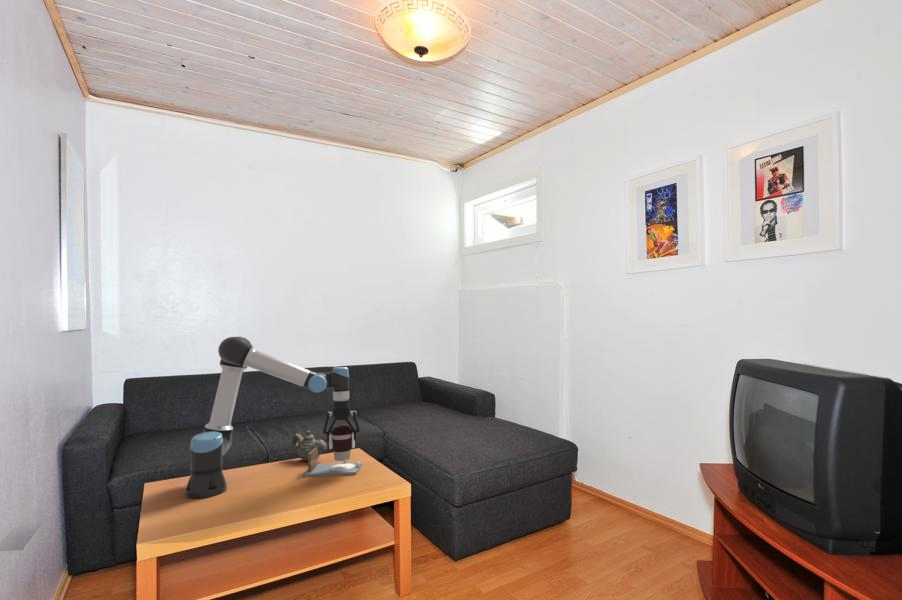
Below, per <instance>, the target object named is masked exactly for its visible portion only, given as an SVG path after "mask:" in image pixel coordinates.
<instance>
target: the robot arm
mask: <svg viewBox="0 0 902 600" xmlns="http://www.w3.org/2000/svg"><path fill="white" fill-rule="evenodd" d="M217 350H218V351H217V352H218V355H219V358H220V361H219V366H220V367H221V373H220V376H219V377H220V378H219V382H218V385H217V390H216V393H215V398H214V402H213V407H212V411H211V415H210V420H209V422H208V423H207V424H205V425H204V429H203V432H201V433H197V434H195V435H194V436H193V437H192V438H191V439H190V444H189V445H190V447H189V448H190V476H189V479H188V481H187V485H186V488H185V491H184V492H185V493H184V494H185V495H184V497H186V498H188V499H202V498H208V497H209V498H210V497H214V496H216V495H220V494H223V493H224V492H225V491H227V488H228V487H227V486H228V485H227V484H228V483H227V480H226V478H225V474H224V472H223V456H224V455H225V454H227V452H228V451H229V450H230V448H231V447H232V444H233V437H232V436H233V431H234V426H232V419H233V414H234V411H235V407H236V403H237V402H236V401H237V398H238V393H239V388H240V384H241V381H242V376H243V372H244V371H245V370H247V369H248V368H251V369H254V370H257V371H259V372H262V373H264V374H267V375H270V376H272V377H275V378H277V379H278V378H279V379H281V380H284V381H286V382H289V383H292V384H294V385H296V386H300V387H303V388H305V389H307V390H309V391H311V392H312V393H317V394H319V393H321V392H323V391H325V389H332V399H333V402H332V405H333V410H332V411H327V412H326V419H325V423H324V427H323V430H322V433H323V434H325V435H326V441H327V442H329V443H328V445H329V446H328V447H329V448H328V449H329V450H331V449H332V450H333V442H332V438H333V436H332V435H331V431H332V430H334V428H335V425H336V423H337V421H345V422H347V424H348V426H349V427H350V428H351V429H352V431H353V433H351V437H352V441H351V449H354V448H355V445H356V444H355V441H357V439H358V433H360V432H361V426H360V422H359V419H358V416H357V410H351V407H350V404H351V403H350V400H349V399H350V373H349V371H350V370H349V368H348V367H346V366H337V367H333V368H332V371H328V372H325V371H324V372H323V371H322V372H314V371H311V370H309V369H306V368H304V367H302V366H301V367H300V366H298V365H296V364H294V363H290V362H287V361H285V360H283V359H280V358H277V357H274V356H272V355H269V354H267V353H264V352H261V351H259V350H256V349H255V346H253V344H252V343H251V341H249V340H248V339H247V337H246V338H245V337H243V336H230V337H227V338H225V339H223V340H222V341H221V342H220V343H219V346H218V349H217ZM350 415H351V416H352V419H353V422H354V424H355V425H354V424H353V422H352V420H351V418H350V417H349V416H350ZM332 416H333V417H334V419H333V421H332V423H331V425H330V427H329V424H330V420H331V417H332Z"/></svg>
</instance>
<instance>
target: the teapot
mask: <svg viewBox="0 0 902 600" xmlns="http://www.w3.org/2000/svg"><path fill="white" fill-rule="evenodd" d="M291 446H292V448H293V450H294V451H295V452H296V453H297V456H298V457H299V458H300V459H301V460H302V461H304V462H307V461H308V454H309V453H310V452H311V451H312V450H313V449H314V448H316V447H318V458H319V457H320V455H321V453H323V452H325V451H327V449H328V447H327V443H326V442H325V440H323V439H315V436H314V434H311V430H307V431H306V434H305V435H304V436H302V435H301V434H300V433H294V434H293V437H292V441H291Z"/></svg>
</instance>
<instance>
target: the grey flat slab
mask: <svg viewBox="0 0 902 600" xmlns="http://www.w3.org/2000/svg"><path fill="white" fill-rule="evenodd" d="M362 466H363V461H350V462H348V460H345V461H343V462H328V463H327V462H326V463H323V462H321V463H318V465H317V466H316V467H315V468H314V469H313V470H312V471H311V472H308V468H307V469H306V470H305V471H304V472H303V473H302V478H309V477H310V478H311V477H315V478H316V477H335V476H355V475H357V474H358V472H359V471H360V470H361V468H362Z"/></svg>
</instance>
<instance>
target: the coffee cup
mask: <svg viewBox="0 0 902 600" xmlns="http://www.w3.org/2000/svg"><path fill="white" fill-rule="evenodd" d="M352 433H353V431H352V429H351V428H350V426H349V425H337V426H334V427H333V429H332V431H331V433H330V434H331V435H332V451H333V458H334V461H337V462H344V461H345V460H347V461H348V460H350V459H351V451H352Z"/></svg>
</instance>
